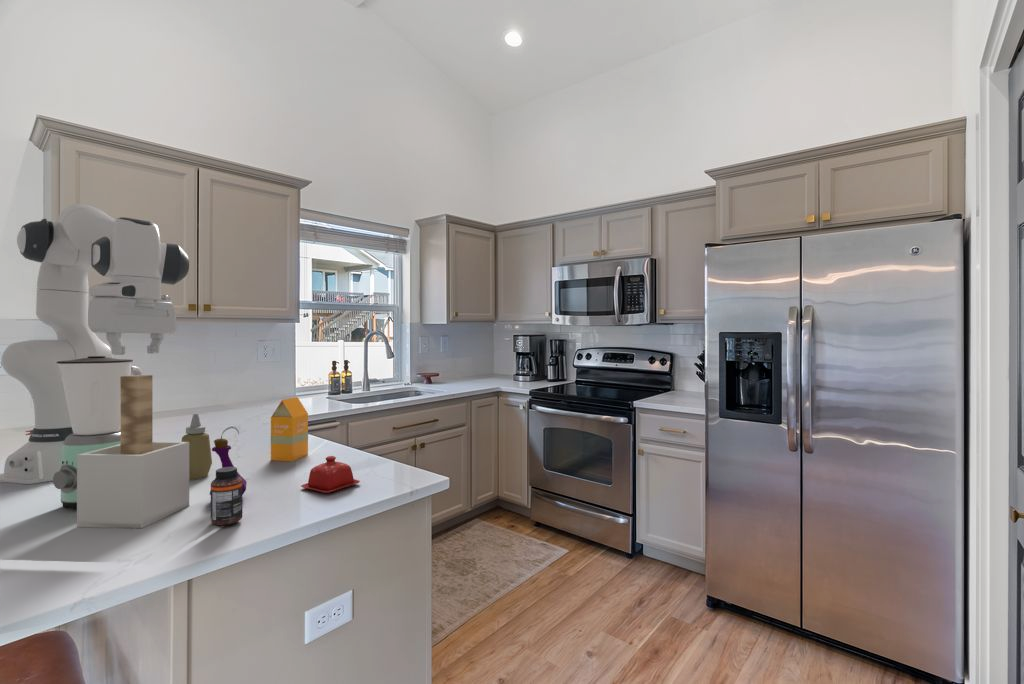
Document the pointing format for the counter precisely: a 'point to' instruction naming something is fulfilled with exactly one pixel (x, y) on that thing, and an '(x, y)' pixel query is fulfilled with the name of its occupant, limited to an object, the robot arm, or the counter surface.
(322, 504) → the counter surface
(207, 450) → the squeeze bottle
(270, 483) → the counter surface
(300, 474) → the counter surface
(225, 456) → the potion bottle
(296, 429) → the orange juice
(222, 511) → the supplement bottle
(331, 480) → the butter dish
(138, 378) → the long wooden block
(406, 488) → the counter surface
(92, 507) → the bin
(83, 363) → the blender
